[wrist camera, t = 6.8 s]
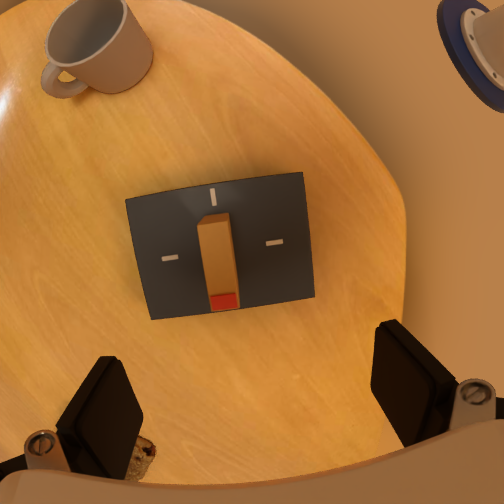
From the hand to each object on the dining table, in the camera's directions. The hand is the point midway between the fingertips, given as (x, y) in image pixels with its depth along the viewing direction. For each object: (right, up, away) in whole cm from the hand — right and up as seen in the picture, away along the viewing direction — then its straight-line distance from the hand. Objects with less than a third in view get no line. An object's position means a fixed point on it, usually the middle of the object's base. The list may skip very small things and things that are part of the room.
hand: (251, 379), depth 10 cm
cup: (-14, +22, +14) cm, 30 cm away
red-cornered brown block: (-3, +5, +15) cm, 16 cm away
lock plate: (-3, +5, +18) cm, 19 cm away
